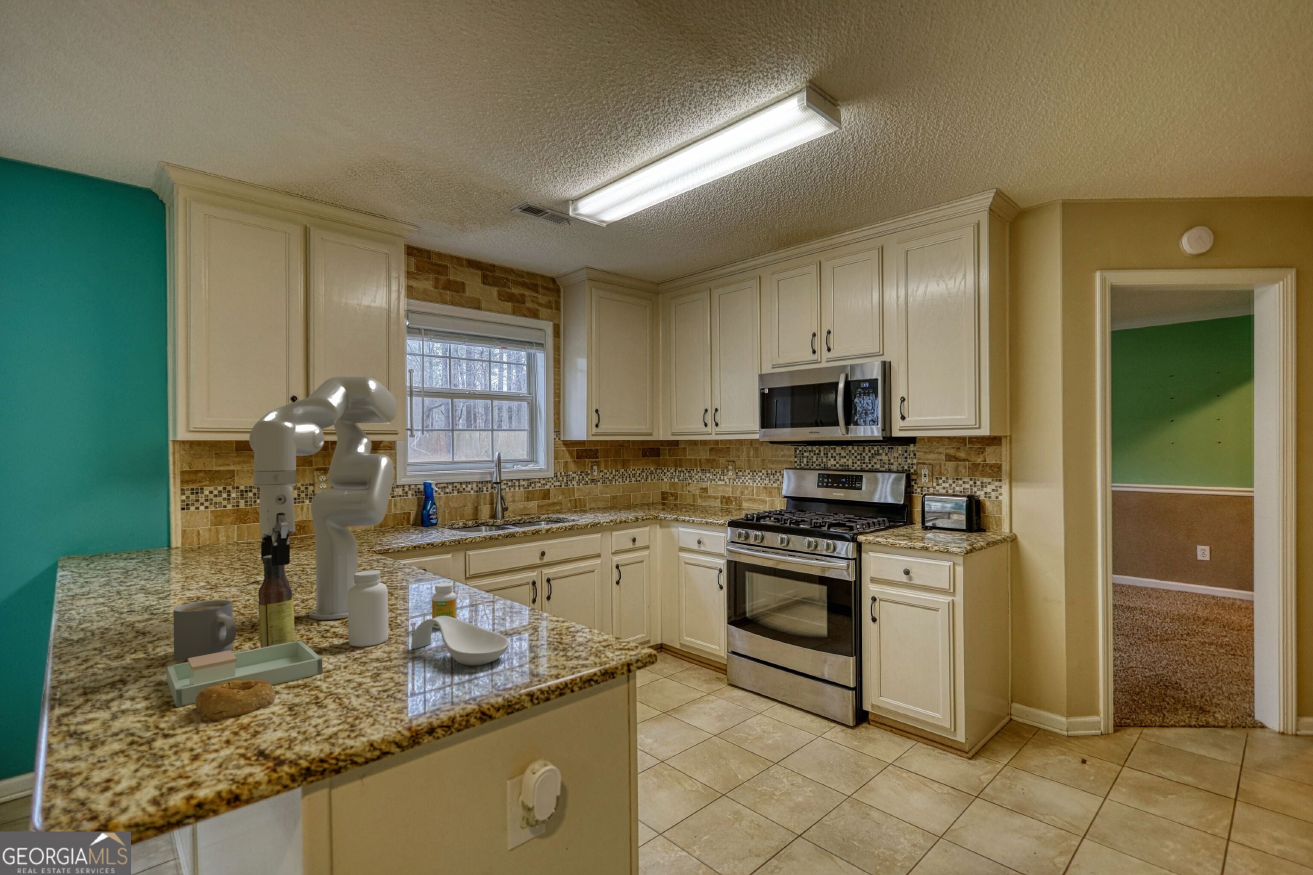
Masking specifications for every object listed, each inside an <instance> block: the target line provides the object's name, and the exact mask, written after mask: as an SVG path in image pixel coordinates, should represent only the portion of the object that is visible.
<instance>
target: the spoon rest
mask: <svg viewBox="0 0 1313 875" xmlns="http://www.w3.org/2000/svg"><path fill="white" fill-rule="evenodd" d="M434 624H437V625H438V626H439V628H440V629H439V630H440V633H441V634H440V635H441V637H442V640H443V644H444V645H445V648H446V650H447V652H448V653H449V655H450V656H451V657H452V659H454V660H455V661H456V662H458V663H460V664H462V665H463V666H471V667H473V666H474V667H475V666H481V665H482V666H484V665H486V664H489V663H491V662H494V661H496V660H498V659H499V658H501V657H502V656H503V655H504V654H505V653H506V651H507V650H508V649H509V647H510V644H511V643H510V640H509V639H508V638H507V637H505V636H504V635H502V634H500V633H497V632H494V631H492V630H488V629H484V628H482V627H479V626H477V625H474V624H471V623H469V622H466V621H463V620H461V619H458V618H457V617H456V618H453V617H449V616H438V617H436V618H434V619H432V618H428V619H425V620H423V621H422V622H420V623H419V624H418V626H417V628H416V629H415V630H414V633H413V635H412V639H411V644H410V648H411V649H414V650H415V649H416V650H417V649H420V648H423V647H426V646H429V645H430V644H432V630H433V625H434Z"/></svg>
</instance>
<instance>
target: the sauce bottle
mask: <svg viewBox="0 0 1313 875" xmlns="http://www.w3.org/2000/svg"><path fill="white" fill-rule="evenodd" d="M261 561H262V565H263V573H264V574H263V581H262V583H261V585H260V587H259V589H258V605H257V606H258V622H259V623H258V624H259V644H260V646H259V647H260V648H263V647H268V646H274V645H279V644H284V643H289V642H294V641H296V633H295V632H296V631H295V629H296V628H295V612H294V607H295V606H294V593H293V590H292V589H291V588H292V587H291V586H290V585H291V584H290V583H289V581H288V578H287V576H286V572H285V569H286V568H285V565H279V566H272V565H271V555H268V556H264V557H263V560H261Z"/></svg>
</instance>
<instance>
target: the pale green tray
mask: <svg viewBox="0 0 1313 875" xmlns="http://www.w3.org/2000/svg"><path fill="white" fill-rule="evenodd" d="M232 653H233V654H234V655H235V657H236V658H237V662H235V676H233V677H228V678H224V679H219V680H214V681H210V682H205V683H200V684H196V685H191V686H190V684H189V663H188V661H186V662H181V663H177V664H172V665H171V664H170V665H167V666H166V682H167V685H168V689H169V691H170V694H171V696H172V699H173V702H174V704H175V707H176V708H179V707H183V706H184V707H185V706H187V705H192V704H195V702H196V697H197V696H198V693H199V692H201V691H202V690H203V689H206V688H208V687H211V686H214V685H217V684H219V683H222V682H229V681H232V680H241V681H246V680H254V681H256V680H261V681H265V682H268V683H270V684H271V685H272V686H274V685H279V684H283V683H287V682H292V681H297V680H300V679H305V678H311V677H314V676H318V675H322V674H323V658H322V657H321V656H320V655H319V654H318V653H316V652H315V651H314V650H313V649H312V648H311V647H310V646H308V644H306V643H305V642H303V641H302V640H301V639H300V640H295V641H294V642H289V643H284V644H279V645H274V646H268V647H263V648H262V647H259V648H254V649H253V648H252V649H249V650H244V651H238V652H235V653H234V652H232Z"/></svg>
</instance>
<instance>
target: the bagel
mask: <svg viewBox="0 0 1313 875" xmlns="http://www.w3.org/2000/svg"><path fill="white" fill-rule="evenodd" d="M276 698H277V697H276V691H275V689H274V688H273V685H271V684H270V683H268V682H265V681H261V680H256V681H254V680H246V681H241V680H232V681H229V682H222V683H219V684H217V685H214V686H211V687H208V688H206V689H203V690H202V691H201V692H199V693H198V696H197V697H196V702H195V703H194V706H195V709H196V711H197V712H198V713H199V715H200V716H201V717H202V718H207V719H214V720H216V719H218V720H219V719H226V718H231V717H237V716H241V715H242V716H243V715H248V714H251V713H253V712H255V711H257V710H260V709H264V708H265V707H269V706H271V705H273V704H274V703H275V700H276Z"/></svg>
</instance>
